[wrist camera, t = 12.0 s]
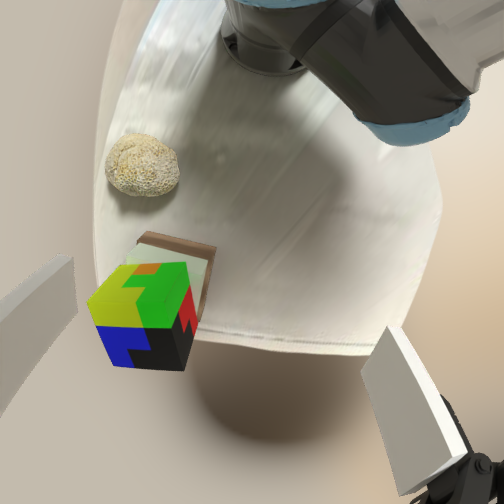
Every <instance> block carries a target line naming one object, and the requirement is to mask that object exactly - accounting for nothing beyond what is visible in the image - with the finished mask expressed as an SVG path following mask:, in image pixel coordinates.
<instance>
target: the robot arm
mask: <svg viewBox="0 0 504 504" xmlns="http://www.w3.org/2000/svg"><path fill="white" fill-rule="evenodd" d="M225 3H226V7H227V11H226V12H225V14H224V17H223V19H222V24H221V35H222V40H223V43H224V45H225V48H226V50H227V51H228V53H229V54H230V56H231V57H232V58H233V59H234V60H235V61H236V62H237V63H238V64H239V65H241V66H242V67H244V68H246V69H248V70H250V71H252V72H255V73H258V74H262V75H268V76H283V75H289V74H293V73H296V72H299V71H301V70H303V69H304V68H307V69H308V70H309V71H311V72H312V73H313V74H314V75H315V76H316V77H317V78H318V79H320V80H321V81H322V82H323V83H324V84H325V85H326V86H327V87H328V88H329V89H330V90H331V91H332V92H333V93H334V94H336V95H337V96H338V97H339V98H340V99H341V100H342V101H343V102H344V103H345V104H346V105H347V106H348V107H349V108H350V109H351V110H352V111H353V115H354V117H355V118H356V119H357V120H358V121H360V122H361V123H362V124H364V125H366V126H367V127H368V128H369V129H370V131H371V132H372V133H373V134H374V135H375V136H376V137H377V138H378V139H380V140H381V141H383V142H385V143H387V144H389V145H393V146H400V147H406V146H414V145H419V144H423V143H426V142H429V141H432V140H434V139H437V138H439V137H441V136H443V135H444V134H446V133H448V132H449V131H450V127H452V126H457V125H459V124H460V123H461V122H462V121H463V120H464V119H465V117H466V116H467V114H468V112H469V110H470V100H469V95H471V94H474V93H476V92H477V91H478V90H479V85H480V78H481V73H482V71H483V69H484V68H486V67H488V66H490V65H492V64H494V63H496V62H498V61H501V60H502V59H504V0H225ZM76 300H77V299H76V290H75V277H74V261H73V257H70V256H67V255H63V254H60V253H59V254H58V255H56V256H55V257H54V258H52V259H51V260H50V261H49V262H47V263H46V264H45V265H43V266H42V267H41V268H40V269H38V270H37V271H36V272H34V273H33V274H32V275H31V276H29V277H28V278H27V279H26V280H25V281H23V282H22V283H21V284H20V285H18V286H17V287H16V288H15V289H14V290H12V291H11V292H10V293H9V294H8V295H7V296H5V297H4V298H3V299H2V300H1V301H0V417H1V416H2V414H3V412H4V411H5V409H6V408H7V406H8V405H9V403H10V402H11V400H12V398H13V397H14V396H15V394H16V393H17V391H18V390H19V388H20V387H21V385H22V384H23V383H24V381H25V380H26V378H27V377H28V376H29V374H30V373H31V371H32V370H33V369H34V367H35V366H36V365H37V363H38V362H39V361H40V359H41V358H42V357H43V355H44V354H45V353H46V351H47V350H48V349H49V347H50V346H51V345H52V344H53V342H54V341H55V340H56V338H57V337H58V336H59V335H60V333H61V332H62V331H63V330H64V329H65V327H66V326H67V325H68V324H69V322H70V321H71V320H72V319H73V318H74V316H75V315H76V314H77V313H78V308H77V301H76ZM360 373H361V375H362V378H363V381H364V384H365V387H366V390H367V392H368V395H369V398H370V401H371V404H372V407H373V410H374V413H375V416H376V419H377V422H378V426H379V428H380V432H381V435H382V438H383V441H384V444H385V448H386V451H387V455H388V458H389V461H390V465H391V468H392V472H393V476H394V479H395V483H396V486H397V490H398V494H399V496H403V495H407V494H411V493H415V492H417V491H418V490H420V489H421V488H422V487H424V486H426V485H427V488H428V490H427V491H425V492H424V493H422V494H421V495H419V496H418V497H416V498H415V499H413V500H412V501H411V502H410V504H414V503H416V502H417V501H419V500H420V499H421V500H420V502H419V503H418V504H488V502H490V501H491V500H493V499H494V498H496V497H497V503H496V504H504V460H503V461H502V462H501V463H497V462H491V460H490V459H489V457H488V456H486V455H485V454H482V453H474V451H473V450H472V447H471V445H470V443H469V441H468V439H467V437H466V435H465V433H464V431H463V429H462V427H461V425H460V424H459V423H458V422H459V421H458V419H457V417H456V416H455V415H454V414H455V413H454V411H453V409H452V407H451V405H450V403H449V402H448V401H447V400H446V399H445V398H444V397H443V396H442V395H441V394H439V392H438V391H437V389H436V387H435V385H434V383H433V381H432V380H431V378H430V376H429V374H428V372H427V371H426V369H425V367H424V365H423V364H422V362H421V360H420V358H419V357H418V355H417V354H416V352H415V350H414V348H413V347H412V345H411V344H410V342H409V340H408V338H407V337H406V335H405V334H404V332H403V330H402V329H401V328H400V327H393V326H387V327H386V329H385V330H384V332H383V334H382V336H381V338H380V339H379V341H378V343H377V345H376V346H375V348H374V350H373V352H372V353H371V355H370V357H369V358H368V360H367V362H366V363H365V365H364V367H363V368H362V370H361V371H360Z"/></svg>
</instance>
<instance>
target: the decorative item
mask: <svg viewBox="0 0 504 504" xmlns="http://www.w3.org/2000/svg"><path fill="white" fill-rule="evenodd" d="M105 175H106V178H107V179H108V181H109V182H110V183H111V184H112V185H113V186H114V187H115V188H117V190H119V191H121V192H123V193H125V194H128V195H129V196H137V197H138V196H143V197H144V196H147V197H152V196H160V195H163V194H165V193H168V192H169V191H171V190H172V189H173V188H174V187H175V185H177V182H178V181H179V177H180V172H179V167H178V159H177V155H176V154H175V152H174V150H173V149H171V148H168V147H167V146H165V145H164V144H163V143H161V142H159V141H158V140H157V139H156V138H154V137H152V136H150V135H146V134H136V133H133V134H129V135H125V136H122V137H121V138H120V139H119V140H118V141H117V142H116V143H115V145H114V147H113V148H112V149H111V151H110V153H109V154H108V156H107V158H106V163H105Z"/></svg>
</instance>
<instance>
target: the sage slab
mask: <svg viewBox="0 0 504 504" xmlns="http://www.w3.org/2000/svg"><path fill="white" fill-rule="evenodd" d="M185 261H186V265H187V270H188V275H189V281H190V286H191V291H192V296H193V301H194V306H195V311H196V316H197V312H198V307H199V302H200V297H201V292H202V287H203V282H204V277H205V272H206V268H207V263H208V260H205V259H201V258H197V257H193V256H189V255H185V254H182V253H178V252H174V251H170V250H166V249H162V248H158V247H155V246H151V245H147V244H143V243H139V244H137V245H136V246H135V247H134V248H133V249H132V250H131V251H130V252H129V253H128V254H127V257H126V265H129V264H148V263H167V262H185Z"/></svg>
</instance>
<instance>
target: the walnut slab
mask: <svg viewBox="0 0 504 504" xmlns="http://www.w3.org/2000/svg"><path fill="white" fill-rule="evenodd" d="M139 243H143V244H147V245H151V246H155V247H158V248H162V249H166V250H170V251H174V252H178V253H182V254H185V255H189V256H193V257H197V258H201V259H205V260H208V263H207V268H206V272H205V277H204V282H203V287H202V292H201V297H200V302H199V307H198V312H197V320H198V322H200V319H201V316H202V312H203V309H204V305H205V300H206V295H207V290H208V285H209V280H210V275H211V270H212V266H213V261H214V256H215V251H216V247H213V246H209V245H205V244H200V243H196V242H192V241H188V240H184V239H179V238H175V237H171V236H167V235H163V234H159V233H154V232H150V231H146V232H145V233H144V234H143V235H142V236H141V237H140V238H139V239H138V240H137V244H139Z"/></svg>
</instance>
